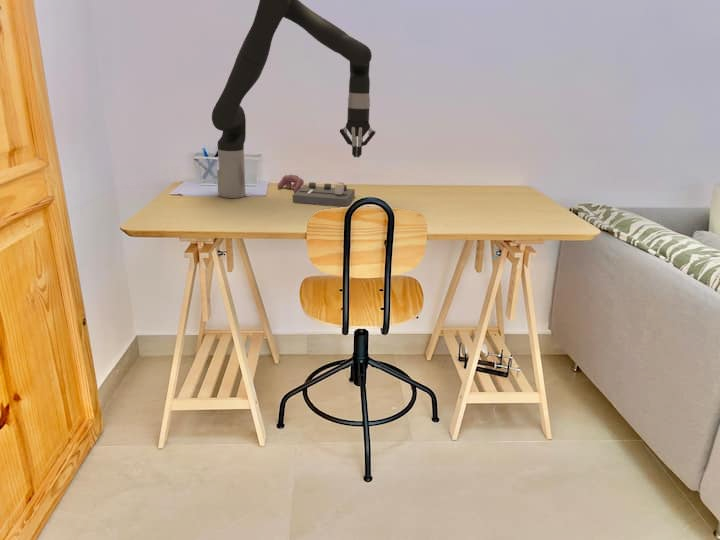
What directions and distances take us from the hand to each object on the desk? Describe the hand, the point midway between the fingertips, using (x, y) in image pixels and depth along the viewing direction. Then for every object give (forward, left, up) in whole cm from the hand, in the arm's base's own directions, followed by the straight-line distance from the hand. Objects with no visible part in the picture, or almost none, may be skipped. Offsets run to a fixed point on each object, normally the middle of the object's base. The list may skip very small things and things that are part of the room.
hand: (356, 156), depth 197 cm
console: (-12, +2, -17) cm, 21 cm away
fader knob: (-6, 0, -14) cm, 15 cm away
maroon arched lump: (-28, +13, -17) cm, 35 cm away
